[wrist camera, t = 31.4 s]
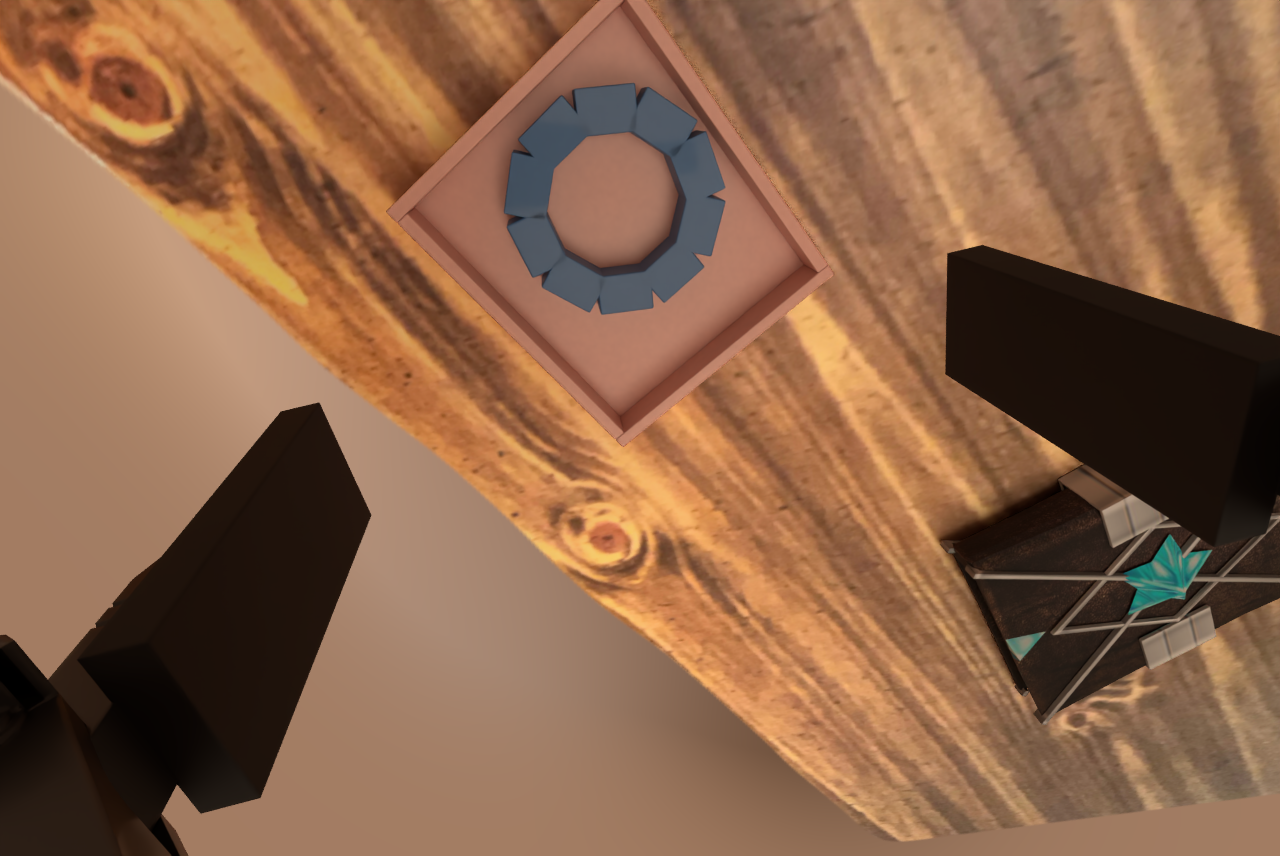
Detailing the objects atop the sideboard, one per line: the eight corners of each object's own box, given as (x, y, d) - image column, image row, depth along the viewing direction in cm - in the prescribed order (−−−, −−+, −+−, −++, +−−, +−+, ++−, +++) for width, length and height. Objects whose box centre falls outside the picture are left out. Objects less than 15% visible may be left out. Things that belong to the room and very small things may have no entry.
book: (1263, 360, 40) (1355, 392, 35) (1287, 547, 47) (1366, 593, 43) (936, 539, 42) (983, 590, 38) (1007, 690, 50) (1054, 747, 45)
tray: (397, 204, 30) (385, 211, 27) (619, -17, 27) (626, -28, 25) (618, 426, 36) (623, 447, 34) (815, 263, 34) (835, 274, 31)
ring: (494, 285, 31) (492, 295, 30) (525, 57, 28) (524, 54, 26) (684, 320, 33) (692, 331, 32) (738, 112, 30) (749, 112, 28)
